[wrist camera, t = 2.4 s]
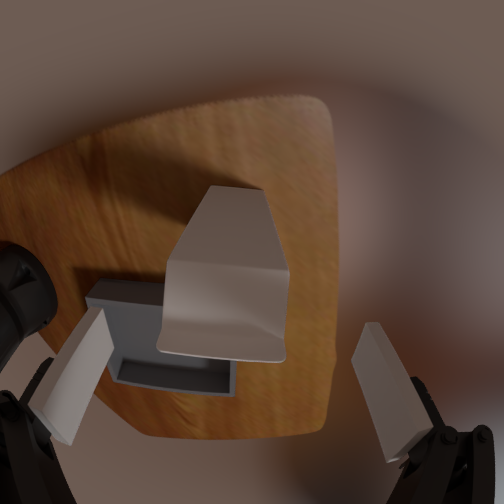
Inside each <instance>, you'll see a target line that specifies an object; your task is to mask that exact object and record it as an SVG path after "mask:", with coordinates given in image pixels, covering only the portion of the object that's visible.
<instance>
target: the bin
mask: <svg viewBox="0 0 504 504" xmlns="http://www.w3.org/2000/svg"><path fill="white" fill-rule="evenodd" d="M164 288H165V284H164V283H151V282H139V281H127V280H117V279H106V278H100V279H99V280H98V282H97V283H96V284H95V285H94V286H93V288H92V289H91V290H90V291H89V293H88V294H87V295H86V296H85V299H86V303H87V307H88V309H89V308H90V306H92V307H98V308H103V311H104V314H105V318H106V322H107V325H108V329H109V332H110V336H111V339H112V342H113V345H114V350H113V352H112V354H111V356H110V358H109V360H108V362H107V366H108V369H109V371H110V374H111V376H112V379H113V381H114V382H117V383H122V384H127V385H133V386H138V387H144V388H150V389H157V390H164V391H172V392H180V393H189V394H200V395H213V396H229V397H235V382H236V362H237V361H235V360H223V359H212V358H202V357H194V356H185V355H178V354H171V353H164V352H160V351H159V350H158V349H157V347H156V344H157V341H158V338H159V335H160V332H161V329H162V315H163V301H164Z"/></svg>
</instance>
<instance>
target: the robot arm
mask: <svg viewBox="0 0 504 504" xmlns="http://www.w3.org/2000/svg"><path fill="white" fill-rule="evenodd" d="M57 306H58V303H57V296H56V292H55V289H54V286H53V283H52V281H51V279H50V277H49V275H48V274H47V272H46V270H45V269H44V267H43V266H42V265H41V263H40V262H39V261H38V260H37V259H36V258H35V257H34V256H33V255H32V254H31V253H30V252H29V251H27V250H26V249H24V248H22V247H19V246H15V245H11V246H8V247H6V248H5V249H3V250H2V251H0V373H1V371H2V370H3V368H4V367H5V365H6V364H7V362H8V361H9V359H10V357H11V356H12V355H13V353H14V352H15V350H16V349H17V348H18V346H19V345H20V343H21V342H22V341H23V340H24V338H26V337H28V336H30V335H32V334H34V333H35V332H37V331H39V330H41V329H43V328H45V327H46V326H47V325H48V324H49V323H50V322H51V321H52V319H53V318H54V317H55V315H56V312H57ZM113 350H114V345H113V342H112V339H111V336H110V332H109V329H108V325H107V322H106V318H105V314H104V311H103V308H98V307H92V306H90V308H89V309H88V310H87V312H86V313H85V315H84V316H83V317H82V319H81V320H80V322H79V323H78V325H77V326H76V327H75V329H74V330H73V332H72V333H71V335H70V336H69V338H68V339H67V341H66V342H65V344H64V345H63V347H62V348H61V350H60V351H59V353H58V354H57V356H56V357H55V359H54V358H51V357H49V358H48V359H46V360H45V361H44V362H43V363H42V364H41V365H40V366H39V368H38V370H37V371H36V373H35V374H34V376H33V379H31V381H30V383H29V384H28V386H27V387H26V389H25V391H24V393H23V395H22V396H21V398H20V400H19V401H18V400H17V399H16V397H15V396H14V395H13V394H12V393H11V392H10V391H8V390H2V391H0V504H77V503H76V501H75V499H74V497H73V495H72V493H71V491H70V488H69V486H68V484H67V481H66V479H65V477H64V474H63V472H62V469H61V467H60V464H59V461H58V459H57V456H56V453H55V450H54V447H53V444H52V442H51V440H50V436H51V434H52V435H53V436H54V437H55V438H56V439H57V440H58V441H60V442H62V443H65V444H67V445H70V446H71V445H72V442H73V440H74V437H75V434H76V432H77V429H78V427H79V424H80V422H81V420H82V417H83V415H84V412H85V410H86V408H87V405H88V403H89V401H90V399H91V396H92V394H93V392H94V390H95V387H96V385H97V383H98V381H99V379H100V377H101V374H102V372H103V370H104V368H105V366H106V364H107V362H108V360H109V358H110V356H111V354H112V352H113ZM351 362H352V365H353V367H354V370H355V372H356V375H357V378H358V381H359V383H360V386H361V389H362V391H363V394H364V397H365V400H366V403H367V405H368V408H369V411H370V414H371V417H372V420H373V423H374V426H375V429H376V431H377V434H378V438H379V441H380V444H381V447H382V450H383V453H384V456H385V459H386V462H391V461H394V460H398V459H401V458H402V457H403V456H404V455H406V454H407V453H408V455H409V458H408V459H407V460H406V461H405V462H404V463H403V464H401V466H400V467H399V469H401V468H402V467H404V468H403V471H402V473H401V475H400V477H399V479H398V482H397V484H396V486H395V488H394V490H393V492H392V494H391V495H390V497H389V499H388V501H387V503H386V504H494V498H495V453H494V440H493V434H492V431H491V430H490V428H488V427H487V426H485V425H478V426H477V427H476V428H474V430H473V431H472V432H457V431H456V429H454V428H453V427H451V426H445V424H444V422H443V420H442V418H441V416H440V414H439V412H438V410H437V408H436V406H435V404H434V402H433V400H431V399H432V398H431V396H430V394H428V391H427V389H426V387H425V385H424V383H422V381H421V380H419V379H418V378H417V377H410V378H409V376H408V374H407V372H406V370H405V368H404V367H403V365H402V363H401V361H400V359H399V357H398V355H397V354H396V352H395V350H394V348H393V346H392V344H391V343H390V341H389V339H388V337H387V336H386V334H385V332H384V331H383V329H382V327H381V325H380V324H379V322H371V323H366V324H365V326H364V329H363V332H362V334H361V337H360V340H359V342H358V345H357V347H356V350H355V352H354V355H353V357H352V360H351ZM466 465H467V468H466Z"/></svg>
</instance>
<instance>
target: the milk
mask: <svg viewBox="0 0 504 504" xmlns="http://www.w3.org/2000/svg"><path fill="white" fill-rule="evenodd" d="M289 275H290V273H289V269H288V265H287V262H286V259H285V255H284V252H283V249H282V246H281V242H280V239H279V236H278V233H277V230H276V226H275V223H274V220H273V217H272V214H271V211H270V208H269V204H268V201H267V198H266V195H265V192H264V190H256V189H247V188H237V187H226V186H215V185H211V186H210V188H209V189H208V191H207V193H206V194H205V196H204V198H203V199H202V201H201V203H200V204H199V206H198V208H197V209H196V211H195V213H194V214H193V216H192V218H191V219H190V221H189V223H188V225H187V226H186V228H185V230H184V232H183V233H182V235H181V237H180V239H179V240H178V242H177V244H176V246H175V248H174V249H173V251H172V253H171V255H170V257H169V258H168V261H167V267H166V277H165V288H164V301H163V315H162V329H161V332H160V335H159V338H158V341H157V344H156V347H157V349H158V350H159V351H160V352H164V353H171V354H178V355H185V356H194V357H202V358H212V359H223V360H235V361H250V362H270V363H281V362H283V361H284V360H285V359H286V350H285V344H284V332H285V321H286V311H287V300H288V288H289Z"/></svg>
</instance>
